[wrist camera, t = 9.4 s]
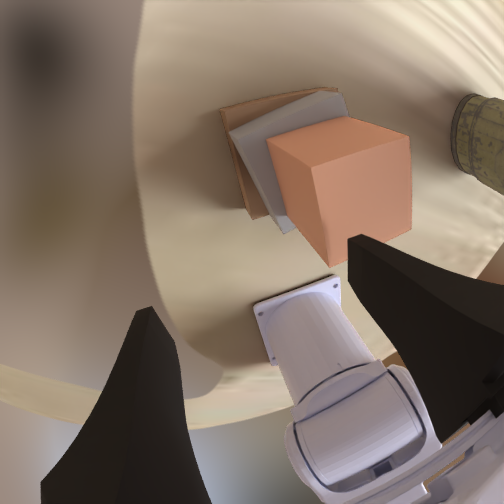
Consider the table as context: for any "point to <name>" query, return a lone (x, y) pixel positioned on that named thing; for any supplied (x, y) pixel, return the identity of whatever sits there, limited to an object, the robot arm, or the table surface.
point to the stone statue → (480, 139)
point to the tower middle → (275, 123)
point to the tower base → (243, 115)
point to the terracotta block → (344, 183)
